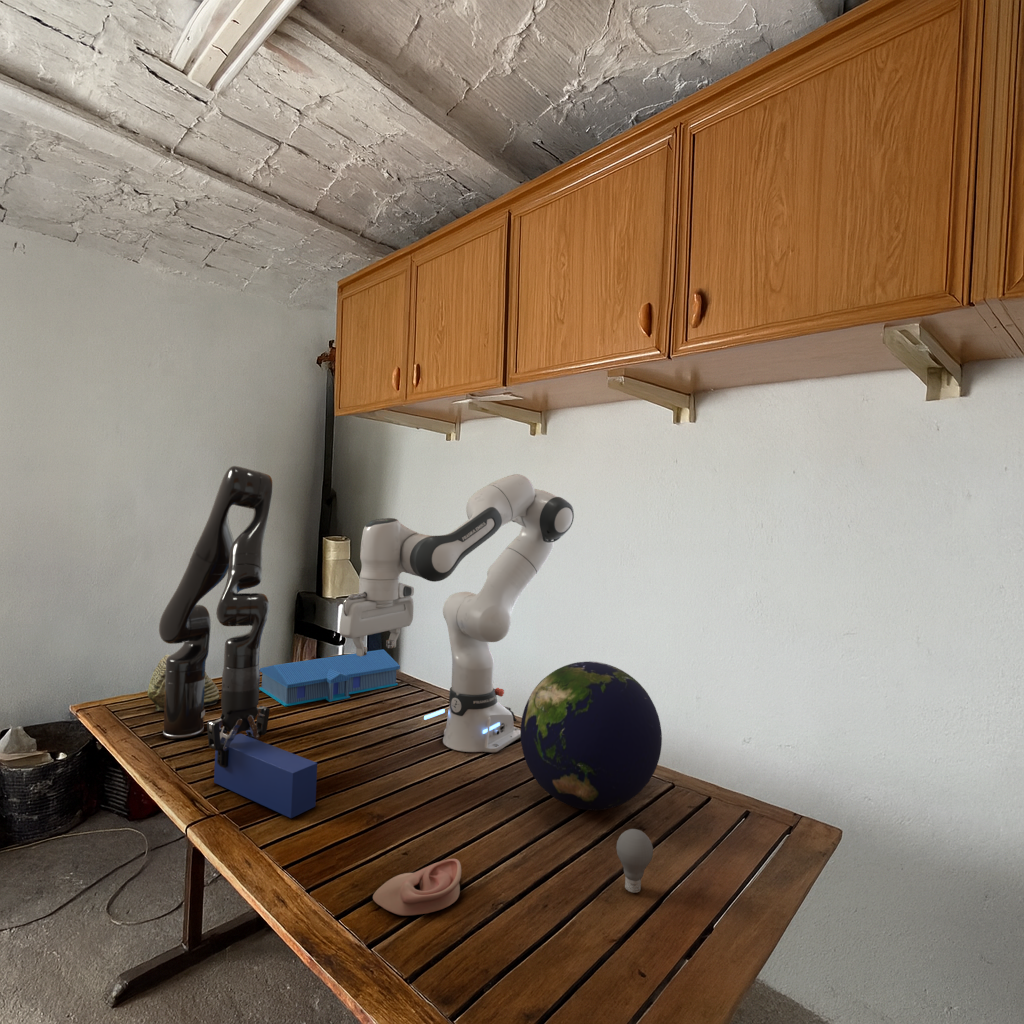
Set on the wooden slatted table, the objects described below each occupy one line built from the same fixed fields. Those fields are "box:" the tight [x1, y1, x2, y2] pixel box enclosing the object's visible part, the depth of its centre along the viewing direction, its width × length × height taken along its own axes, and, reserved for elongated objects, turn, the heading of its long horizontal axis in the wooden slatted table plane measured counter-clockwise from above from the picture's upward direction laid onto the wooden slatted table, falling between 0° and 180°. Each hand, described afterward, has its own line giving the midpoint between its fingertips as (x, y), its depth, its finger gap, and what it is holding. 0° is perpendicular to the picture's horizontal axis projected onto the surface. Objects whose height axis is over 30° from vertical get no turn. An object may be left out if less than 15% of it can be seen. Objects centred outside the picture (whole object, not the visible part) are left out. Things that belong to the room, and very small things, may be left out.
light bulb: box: [615, 828, 654, 894], centre depth 106 cm, size 6×6×10 cm
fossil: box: [147, 654, 221, 712], centre depth 185 cm, size 9×18×15 cm, turn 132°
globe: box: [520, 660, 663, 811], centre depth 136 cm, size 30×30×30 cm
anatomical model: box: [372, 858, 462, 917], centre depth 102 cm, size 13×4×12 cm
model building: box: [259, 649, 401, 707], centre depth 208 cm, size 39×24×10 cm, turn 132°
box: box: [213, 733, 318, 819], centre depth 133 cm, size 25×6×9 cm, turn 58°
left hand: (237, 761), depth 138 cm, fingers closed on box, 6 cm apart
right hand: (376, 651), depth 143 cm, fingers open, 8 cm apart
